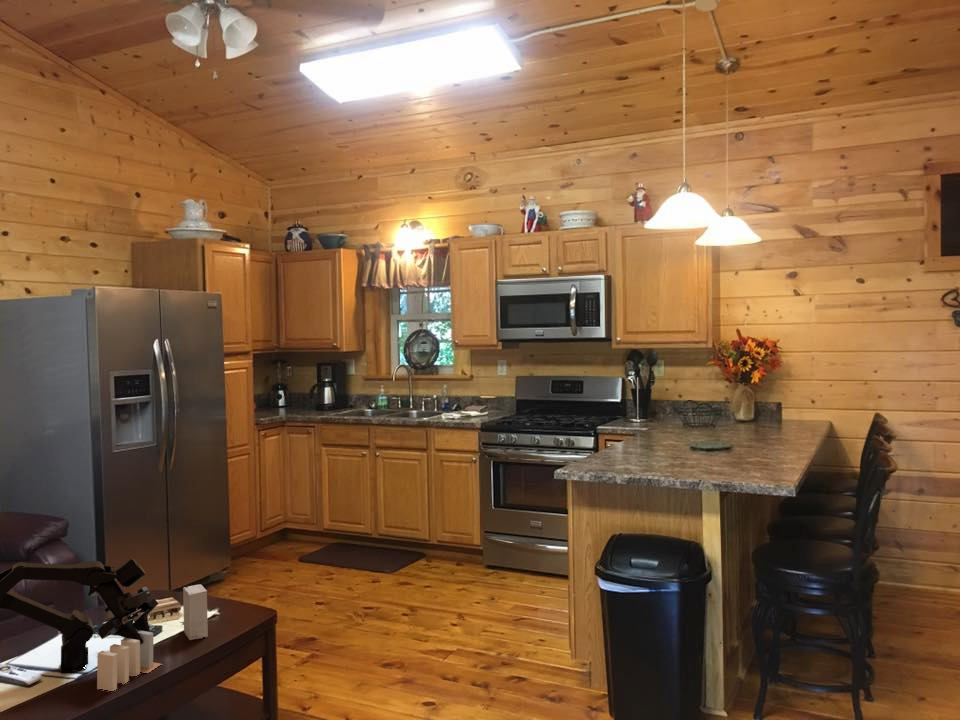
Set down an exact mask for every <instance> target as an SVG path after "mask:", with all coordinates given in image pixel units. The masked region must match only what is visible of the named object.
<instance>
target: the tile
mask: <svg viewBox="0 0 960 720" xmlns="http://www.w3.org/2000/svg"><path fill="white" fill-rule="evenodd" d="M160 665H162V666H163V663H159V662H154V661H153V667H152V668H150V669H146V668H141V667H140V672H142V673H149V672H151V671H152V670H154V669H155V668H157V667H158V666H160ZM160 667H161V666H160ZM157 669H158V668H157ZM154 671H155V670H154ZM142 673H141V674H142ZM151 673H152V672H151Z"/></svg>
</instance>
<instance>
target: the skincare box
mask: <svg viewBox="0 0 960 720" xmlns="http://www.w3.org/2000/svg"><path fill="white" fill-rule="evenodd" d="M182 595H183V597H182V599H183V604H182V605H183V632H184V634H185V636H186V637H187V639H188V640H189V641H192V640H198V639H199V640H200V639H204V638H203V637H205V638H208V635H209V633H208V630H209V629H208V627H209V626H208V625H209V624H208V623H209V622H208V590H207V589H206V588H205V587H204V586H203V585H202V584H194V585H190V586H189V585H188V586H185V587H183V588H182Z"/></svg>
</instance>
